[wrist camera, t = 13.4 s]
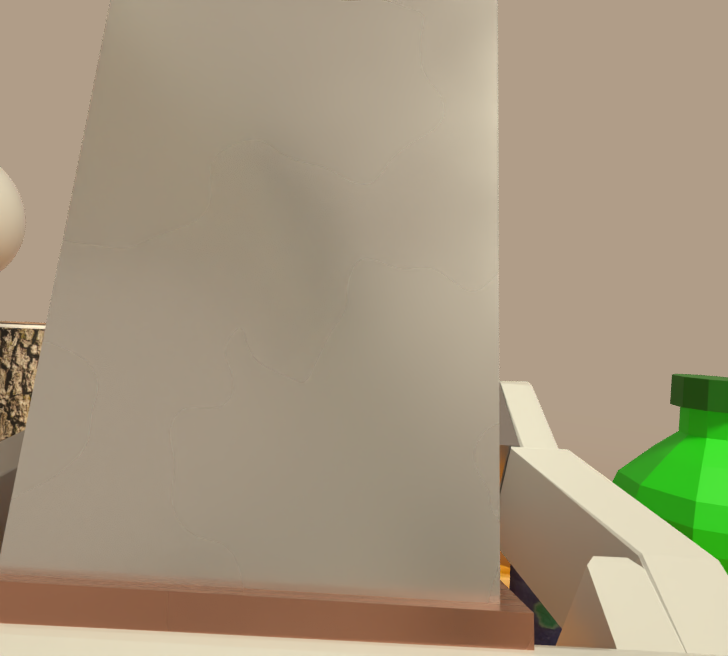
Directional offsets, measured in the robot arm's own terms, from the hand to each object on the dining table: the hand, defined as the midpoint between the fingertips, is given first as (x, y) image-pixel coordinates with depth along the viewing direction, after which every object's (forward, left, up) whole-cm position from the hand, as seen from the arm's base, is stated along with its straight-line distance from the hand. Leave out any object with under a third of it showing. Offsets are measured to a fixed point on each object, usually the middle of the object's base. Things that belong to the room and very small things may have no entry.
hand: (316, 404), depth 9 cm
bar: (+3, -6, -9) cm, 11 cm away
